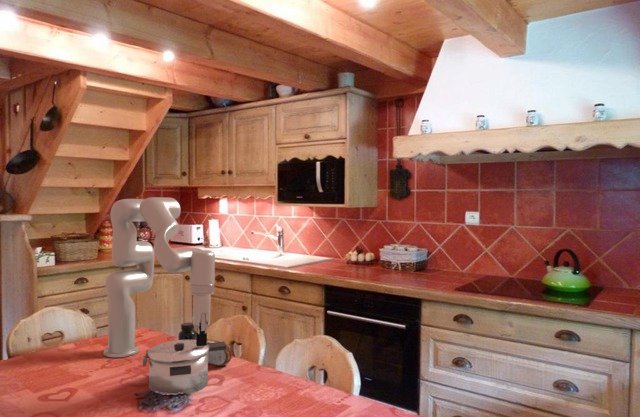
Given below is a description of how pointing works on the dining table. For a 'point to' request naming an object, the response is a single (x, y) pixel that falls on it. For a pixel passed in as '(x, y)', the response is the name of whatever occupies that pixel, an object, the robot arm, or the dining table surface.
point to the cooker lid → (181, 351)
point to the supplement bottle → (187, 332)
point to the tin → (219, 355)
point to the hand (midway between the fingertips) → (201, 345)
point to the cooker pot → (178, 375)
